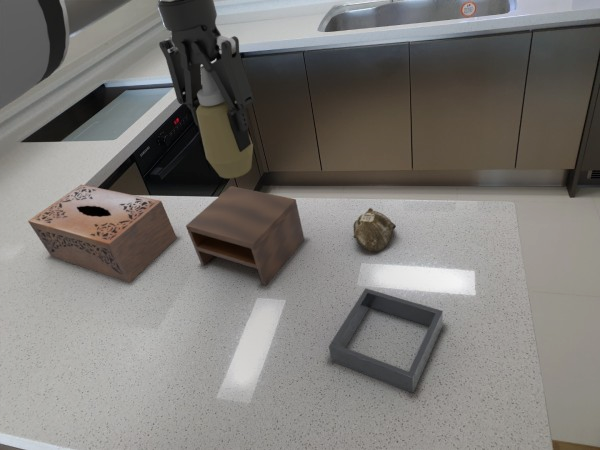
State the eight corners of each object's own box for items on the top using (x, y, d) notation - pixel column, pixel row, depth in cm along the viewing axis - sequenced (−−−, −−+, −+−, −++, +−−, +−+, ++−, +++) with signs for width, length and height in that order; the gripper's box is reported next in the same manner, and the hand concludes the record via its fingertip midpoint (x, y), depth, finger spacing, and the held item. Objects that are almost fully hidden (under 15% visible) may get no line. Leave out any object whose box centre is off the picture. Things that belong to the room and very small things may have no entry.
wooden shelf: (265, 286, 84) (253, 244, 78) (201, 264, 92) (185, 225, 86) (304, 239, 93) (295, 199, 87) (242, 224, 101) (230, 185, 95)
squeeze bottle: (239, 186, 74) (207, 78, 64) (202, 179, 78) (166, 75, 68) (267, 161, 79) (241, 57, 69) (231, 155, 83) (202, 56, 73)
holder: (413, 393, 62) (412, 378, 60) (331, 361, 69) (328, 346, 67) (442, 326, 70) (442, 310, 68) (367, 302, 77) (365, 288, 74)
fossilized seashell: (368, 207, 93) (339, 240, 89) (378, 191, 87) (347, 226, 83) (398, 230, 92) (370, 265, 88) (410, 215, 86) (380, 252, 82)
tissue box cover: (177, 238, 101) (161, 200, 95) (130, 282, 91) (109, 244, 85) (99, 218, 113) (81, 184, 107) (50, 256, 103) (27, 221, 97)
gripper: (255, -18, 60) (288, 140, 73) (153, -10, 69) (199, 129, 83) (219, -2, 55) (261, 164, 69) (115, 4, 65) (170, 149, 79)
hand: (227, 144), depth 76 cm, fingers closed on squeeze bottle, 6 cm apart
